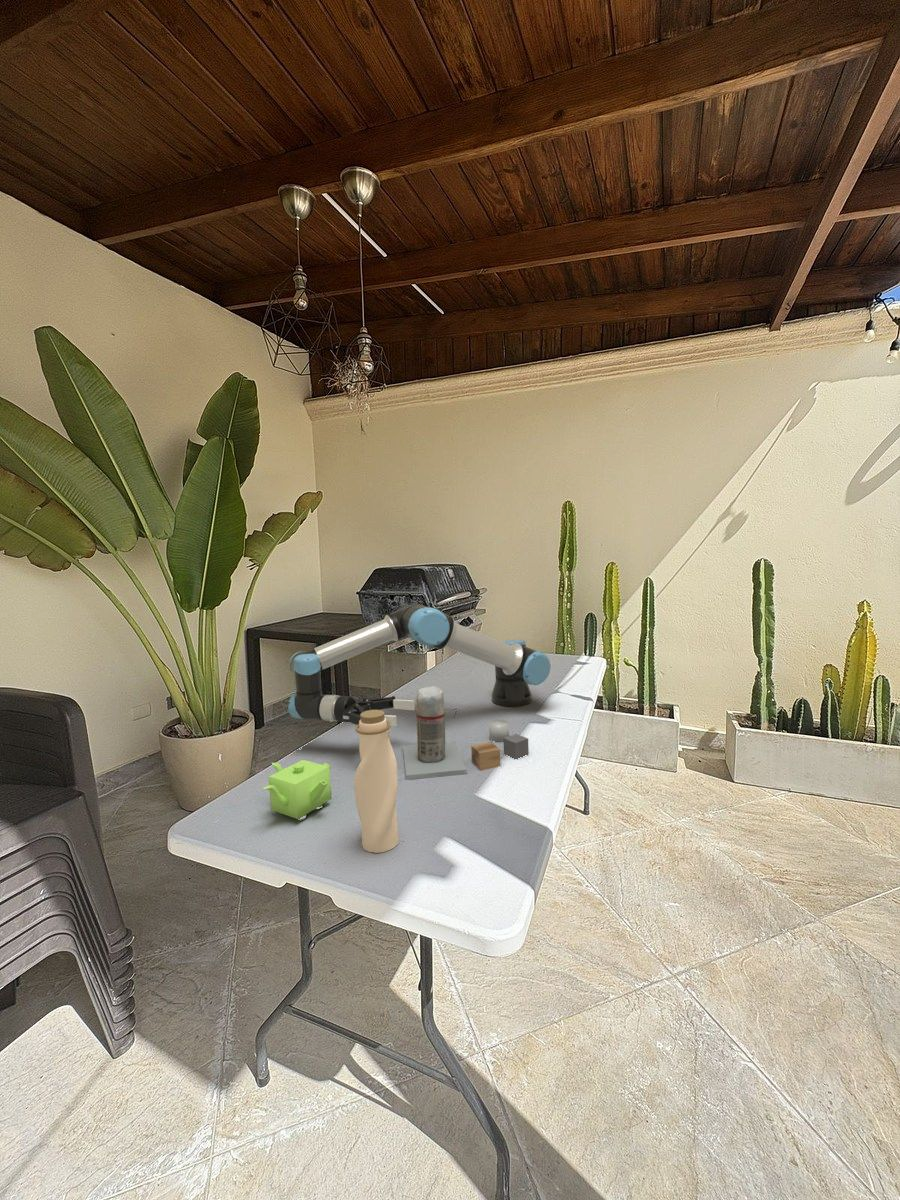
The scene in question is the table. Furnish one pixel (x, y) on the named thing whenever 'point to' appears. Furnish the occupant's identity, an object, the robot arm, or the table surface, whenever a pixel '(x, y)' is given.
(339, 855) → the table surface
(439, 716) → the red-banded paper cylinder
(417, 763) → the slate board
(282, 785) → the kettle
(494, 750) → the walnut block
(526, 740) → the charcoal rubber cube
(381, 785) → the water bottle
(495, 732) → the white rounded cylinder
